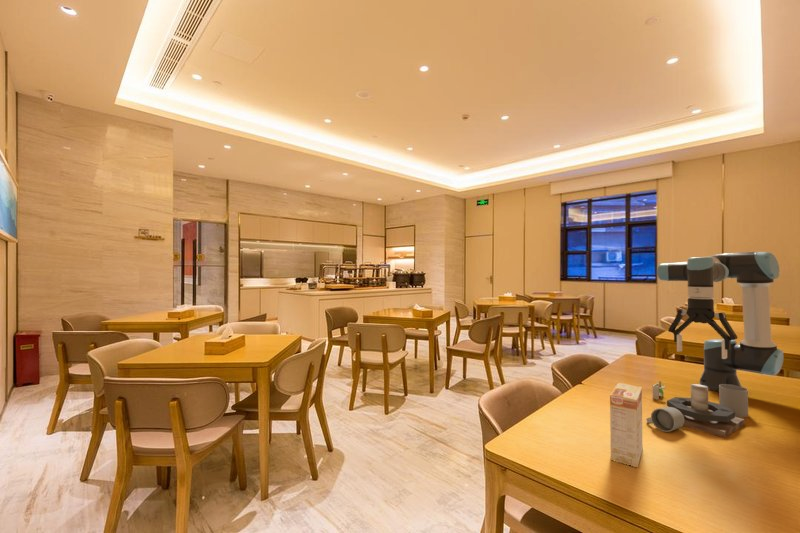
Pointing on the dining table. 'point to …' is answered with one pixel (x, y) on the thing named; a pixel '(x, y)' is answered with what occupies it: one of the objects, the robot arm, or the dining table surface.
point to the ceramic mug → (666, 419)
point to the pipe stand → (701, 403)
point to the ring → (718, 413)
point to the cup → (734, 399)
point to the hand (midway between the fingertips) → (701, 354)
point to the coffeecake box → (626, 424)
